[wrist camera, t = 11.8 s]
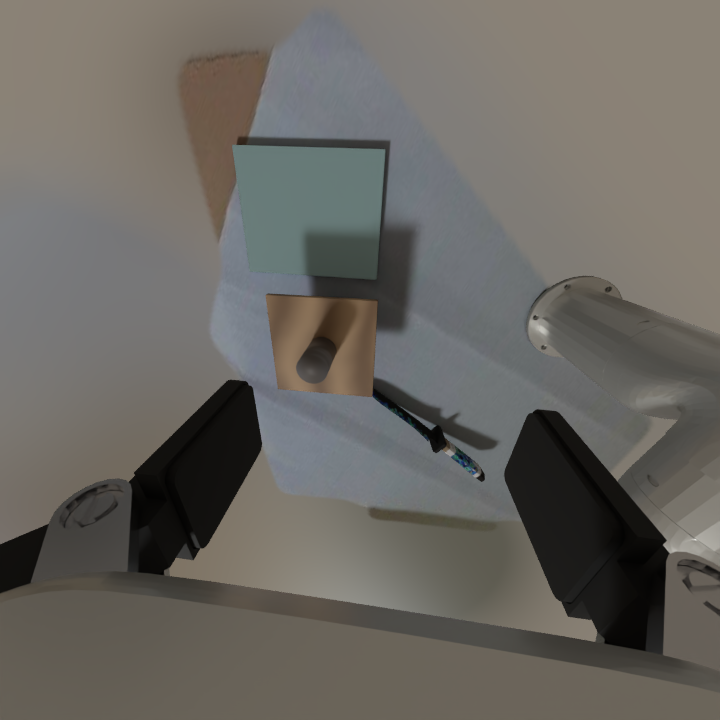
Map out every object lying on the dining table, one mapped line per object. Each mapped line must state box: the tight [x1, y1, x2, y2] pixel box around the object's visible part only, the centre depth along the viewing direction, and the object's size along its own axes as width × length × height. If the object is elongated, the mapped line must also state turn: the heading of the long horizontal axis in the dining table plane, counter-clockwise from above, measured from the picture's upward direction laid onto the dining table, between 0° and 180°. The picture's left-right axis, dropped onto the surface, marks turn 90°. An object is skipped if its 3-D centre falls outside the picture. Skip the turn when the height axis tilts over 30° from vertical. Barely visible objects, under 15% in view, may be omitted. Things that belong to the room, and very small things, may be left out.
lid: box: [266, 294, 378, 397], centre depth 37 cm, size 15×15×7 cm
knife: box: [372, 389, 485, 482], centre depth 53 cm, size 31×3×4 cm, turn 51°
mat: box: [232, 145, 386, 280], centre depth 39 cm, size 20×16×1 cm
